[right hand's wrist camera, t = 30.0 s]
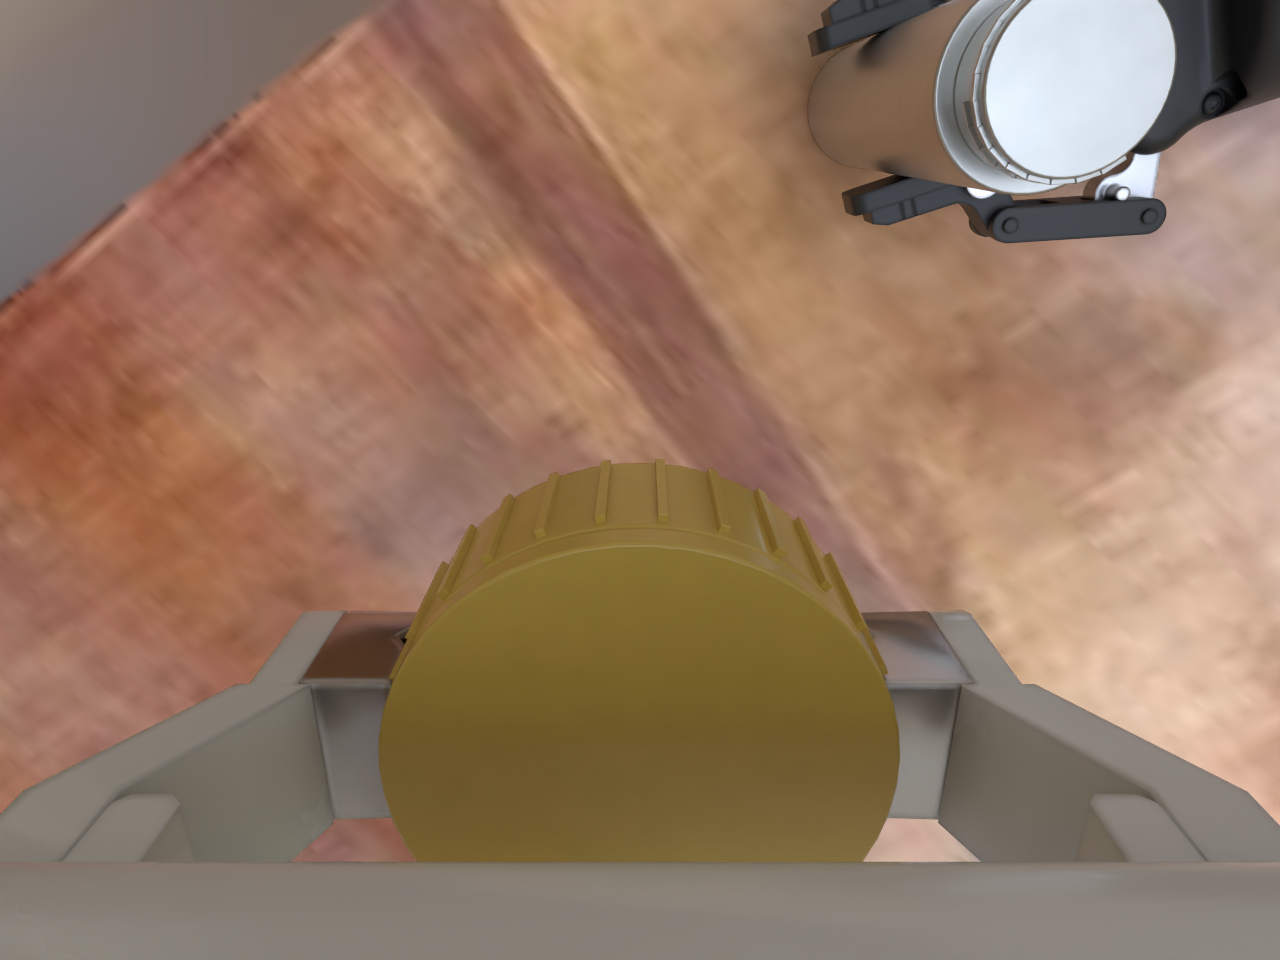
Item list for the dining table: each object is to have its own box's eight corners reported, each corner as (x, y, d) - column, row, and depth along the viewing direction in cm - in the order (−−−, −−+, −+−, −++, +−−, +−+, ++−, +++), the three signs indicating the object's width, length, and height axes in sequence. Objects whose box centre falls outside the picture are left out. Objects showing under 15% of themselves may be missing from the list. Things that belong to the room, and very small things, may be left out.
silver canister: (786, 89, 34) (921, 44, 17) (889, 15, 33) (1149, -115, 16) (841, 190, 36) (1019, 246, 18) (942, 122, 35) (1235, 113, 17)
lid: (556, 877, 12) (540, 1025, 10) (335, 575, 10) (260, 681, 8) (918, 735, 11) (980, 866, 9) (746, 374, 9) (776, 436, 7)
